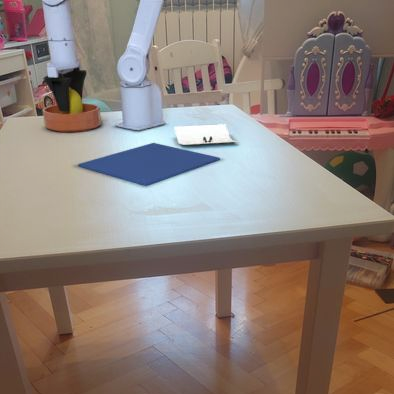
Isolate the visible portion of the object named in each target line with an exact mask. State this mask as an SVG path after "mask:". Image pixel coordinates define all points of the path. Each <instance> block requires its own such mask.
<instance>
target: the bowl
mask: <svg viewBox="0 0 394 394" xmlns="http://www.w3.org/2000/svg"><path fill="white" fill-rule="evenodd" d="M82 104H83V113H73V114H61V112H60V110H59V108H58V105H57V104H53V105H49V106H45V107H44V108H42V116H43V117H42V118H43V122H44V127H45V128H46V129H48V130H50V131H53V132H57V133H79V132H85V131H91V130H94V129H96V128H97V127H99V126H101V124H102V116H101V107H100V106H99V105H98V104H95V103H94V104H93V103H86V102H85V103H84V102H82Z"/></svg>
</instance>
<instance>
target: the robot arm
mask: <svg viewBox="0 0 394 394" xmlns="http://www.w3.org/2000/svg"><path fill="white" fill-rule="evenodd" d="M164 1H165V0H139V3H138V8H137V12H136V15H135V19H134V23H133V27H132V30H131V33H130V37H129V39H128V42H127V45H126V48H125V51H124V53H123V54H122V55H121V57H120V58H119V59H118V61H117V65H116V66H117V67H116V69H117V74H118V76H119V78H120V80H121V81H119V92H120V93H119V94H120V104H121V105H120V106H121V116H122V122H119V123H115V125H114V126H115V127H119V128H121V129H122V128H124V129H127V130H133V131H142V130H147V129H151V128H154V127H159V126H161V125H165V124H166V121H164V117H163V116H164V115H163V96H162V91H161V89H160V87H159V85H157V84H156V83H155V82H152V80H150V78H149V77H148V76H147V75H148V74H149V71H150V68H151V66H150V65H151V64H150V52H151V49H152V44H153V40H154V36H155V34H156V33H155V32H156V29H157V26H158V23H159V19H160V16H161V12H162V8H163V5H164ZM41 4H42V10H43V18H44V19H43V20H44V25H45V32H46V37H47V43H48V51H49V57H50V61H49V62H47V63H46V71H47V75H46V76H44V82H45V83H46V85H47V86H48V88H49V90H50V91H51V93H52V95H53V98H54V101H55V102H56V105H58V108H59V110H60V111H66V112H68V111H69V87H70V88H71V89H73V90H75V91H76V92H77V93H78V94H79V95H80V97H81V100H82V101H83V90H84V84H85V80H86V77H87V70H85V69H82V59H79V58H78V57H77V49H76V42H75V34H74V26H73V20H72V14H71V7H70V0H41Z"/></svg>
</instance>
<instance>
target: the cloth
mask: <svg viewBox="0 0 394 394" xmlns="http://www.w3.org/2000/svg"><path fill="white" fill-rule="evenodd" d="M220 160H221V157H218V156H215V155H210V154H206V153H202V152H196V151H193V150H187V149H183V148H179V147H175V146H169V145H165V144H161V143H158V142H157V143H156V142H150V143H149V144H148V143H147V144H144V145H141V146H138V147H133V148H130V149H126V150H123V151H119V152H117V153H112V154H108V155H105V156H103V157H98V158H95V159H91V160H88V161H84V162H80V163H78V164H77V166H78V167H81V168H83V169H87V170H89V171H94V172H97V173H101V174H103V175H106V176H111V177H114V178H117V179H121V180H124V181H128V182H131V183H134V184H138V185H142V186H144V187H146V186H149V185H153V184H156V183H158V182H161V181H164V180H166V179H167V180H168V179H170V178H172V177H175V176H178V175H181V174H184V173H187V172H189V171H192V170H195V169H198V168H201V167H203V166H206V165H209V164H212V163H215V162H217V161H220Z"/></svg>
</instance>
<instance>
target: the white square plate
mask: <svg viewBox="0 0 394 394" xmlns="http://www.w3.org/2000/svg"><path fill="white" fill-rule="evenodd" d="M173 128H174V134H175V136H176V140H177V142H178V144H179V145H183V146H185V145H186V146H187V145H204V144H206V145H207V144H220V143H236V142H237V143H238V142H240V141H239V140H233V139H232V138H231V136H230V133H229V130H228V127H227V124H226V123H223V124H204V125H201V124H200V125H184V126H173Z"/></svg>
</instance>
